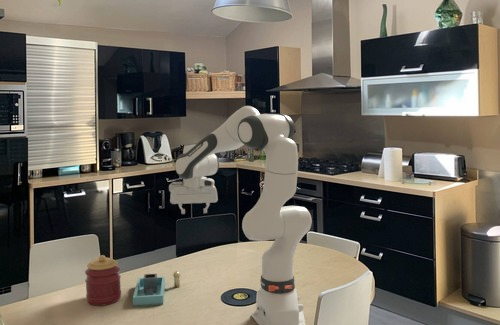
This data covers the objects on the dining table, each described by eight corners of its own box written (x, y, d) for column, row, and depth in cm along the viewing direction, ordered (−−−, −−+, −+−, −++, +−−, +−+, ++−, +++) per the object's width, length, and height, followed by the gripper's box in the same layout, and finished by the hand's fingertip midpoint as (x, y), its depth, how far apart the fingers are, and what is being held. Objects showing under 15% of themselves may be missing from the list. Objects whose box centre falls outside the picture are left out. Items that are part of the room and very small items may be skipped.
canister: (119, 290, 186) (117, 248, 184) (123, 303, 174) (121, 258, 172) (85, 295, 181) (83, 252, 179) (87, 308, 169) (84, 262, 167)
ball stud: (180, 287, 188) (180, 272, 187) (173, 288, 188) (172, 272, 187) (180, 285, 191) (180, 270, 190) (173, 285, 190) (173, 270, 190)
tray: (163, 304, 172) (162, 295, 171) (133, 306, 170) (132, 297, 170) (165, 284, 191) (164, 276, 191) (138, 286, 190) (138, 278, 189)
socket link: (144, 288, 186) (144, 274, 185) (157, 287, 187) (156, 273, 186) (142, 299, 175) (142, 284, 175) (155, 298, 176) (155, 283, 175)
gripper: (168, 183, 189) (169, 215, 190) (217, 181, 192) (218, 213, 193) (169, 180, 195) (169, 212, 197) (216, 179, 198) (217, 210, 199)
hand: (194, 213), depth 195 cm, fingers open, 8 cm apart
